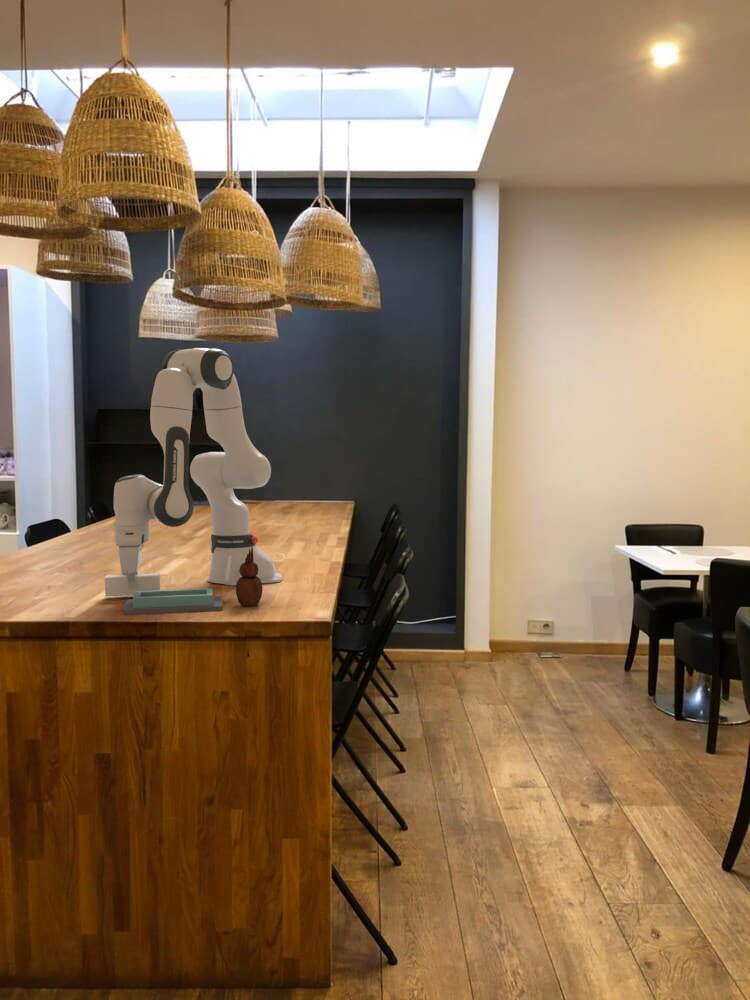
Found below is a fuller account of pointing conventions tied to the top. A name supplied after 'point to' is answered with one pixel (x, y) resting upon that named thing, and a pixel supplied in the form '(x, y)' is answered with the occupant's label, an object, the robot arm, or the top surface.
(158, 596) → the cradle jig
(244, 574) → the wooden figurine
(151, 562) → the top surface
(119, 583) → the long cream plank
